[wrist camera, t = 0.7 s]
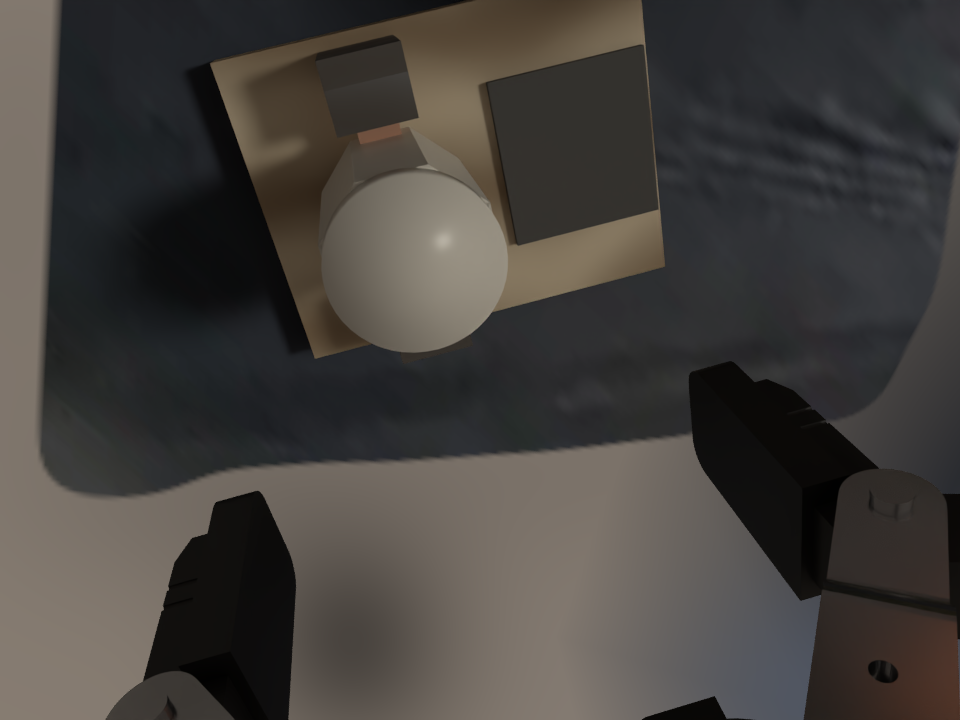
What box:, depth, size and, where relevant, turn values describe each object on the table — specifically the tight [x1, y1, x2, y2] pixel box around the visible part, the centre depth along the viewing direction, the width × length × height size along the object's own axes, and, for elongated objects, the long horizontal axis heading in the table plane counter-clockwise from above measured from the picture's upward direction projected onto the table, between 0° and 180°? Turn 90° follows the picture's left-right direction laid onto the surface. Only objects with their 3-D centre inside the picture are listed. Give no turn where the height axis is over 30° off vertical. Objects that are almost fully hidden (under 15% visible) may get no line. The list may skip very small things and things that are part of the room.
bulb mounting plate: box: [210, 0, 665, 364], centre depth 28 cm, size 13×17×10 cm
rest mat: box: [486, 44, 659, 246], centre depth 32 cm, size 7×7×1 cm
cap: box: [318, 123, 508, 353], centre depth 26 cm, size 9×6×8 cm, turn 12°
